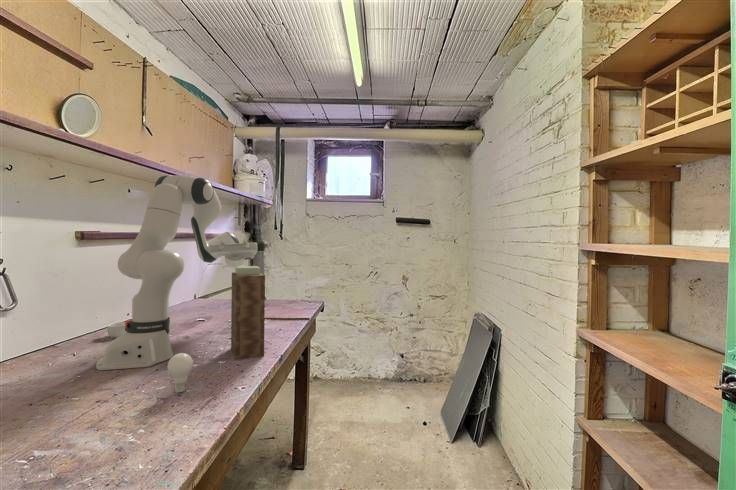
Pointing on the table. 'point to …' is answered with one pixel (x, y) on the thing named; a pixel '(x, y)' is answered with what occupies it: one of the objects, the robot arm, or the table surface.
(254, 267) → the pale green stepped block
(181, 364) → the lightbulb
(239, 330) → the upright wooden block
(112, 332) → the teacup
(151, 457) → the table surface
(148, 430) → the table surface
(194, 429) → the table surface
